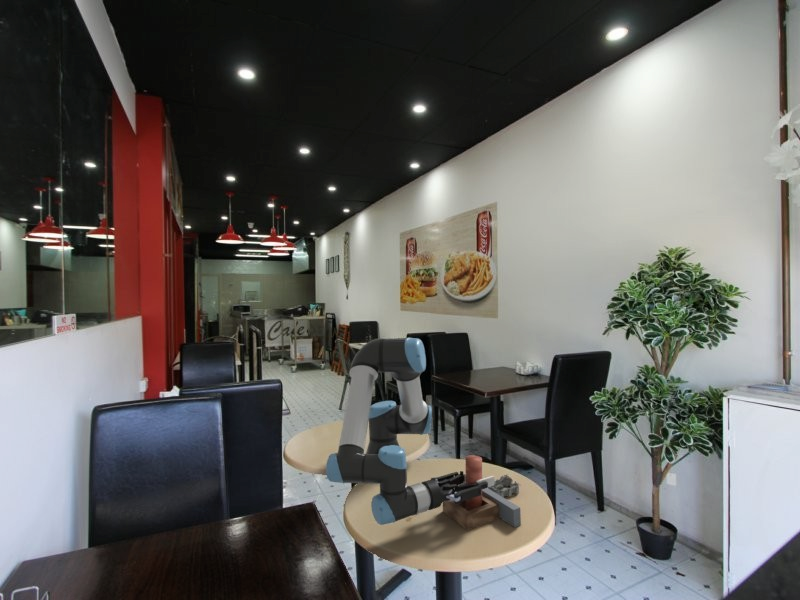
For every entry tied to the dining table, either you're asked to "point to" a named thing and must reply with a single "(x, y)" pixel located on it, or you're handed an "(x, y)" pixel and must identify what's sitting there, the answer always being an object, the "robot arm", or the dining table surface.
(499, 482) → the grey rough frame
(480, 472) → the dowel
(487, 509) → the socket block
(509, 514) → the backstop wall
